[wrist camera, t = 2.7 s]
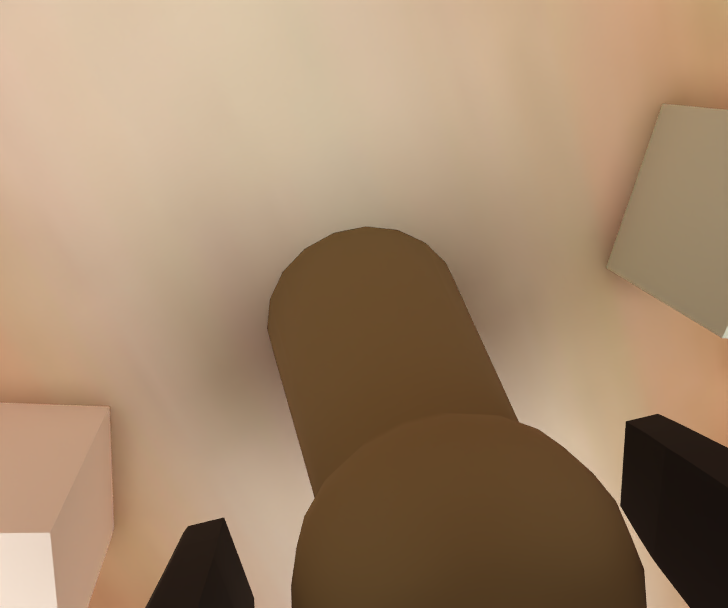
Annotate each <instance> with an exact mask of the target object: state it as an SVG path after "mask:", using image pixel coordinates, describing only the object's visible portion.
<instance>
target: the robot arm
mask: <svg viewBox="0 0 728 608" xmlns="http://www.w3.org/2000/svg"><path fill="white" fill-rule="evenodd" d="M620 506H621V508H622V509H623V511H624V513H625V514H626V516H627V518H628V519H629V521H630V523H631V525H632V526H633V528H634V530H635V531H636V533H637V535H638V536H639V538H640V539H641V541H642V543H643V544H644V546H645V547H646V549H647V551H648V552H649V554H650V555H651V557H652V558H653V560H654V561H655V563H656V564H657V565H658V567H659V568H660V569H661V571H662V572H663V573H664V575H665V576H666V577H667V578H668V580H669V581H670V582H671V584H672V585H673V586H674V588H675V589H676V590H677V591H678V593H679V594H680V595H681V597H682V598H683V599H684V600H685V602H686V603H687V604H688V606H689V607H690V608H728V448H727V447H725V446H723V445H721V444H719V443H717V442H715V441H713V440H711V439H709V438H707V437H705V436H703V435H701V434H699V433H697V432H695V431H693V430H691V429H689V428H687V427H685V426H683V425H681V424H679V423H677V422H675V421H672V420H670V419H668V418H666V417H664V416H662V415H659V414H655V415H651V416H647V417H643V418H639V419H634V420H630V421H626V428H625V443H624V458H623V473H622V488H621V503H620ZM145 608H254V596H253V594H252V591H251V588H250V586H249V583H248V580H247V578H246V575H245V572H244V570H243V567H242V564H241V562H240V559H239V556H238V554H237V551H236V548H235V545H234V543H233V540H232V537H231V535H230V532H229V529H228V527H227V524H226V521H225V519H224V518H221V519H216V520H212V521H208V522H204V523H200V524H195V525H191V526H188V527H187V528H186V530H185V531H184V533H183V535H182V537H181V539H180V541H179V543H178V545H177V547H176V549H175V551H174V553H173V555H172V557H171V559H170V561H169V563H168V565H167V567H166V569H165V571H164V573H163V575H162V577H161V579H160V580H159V582H158V584H157V586H156V588H155V590H154V592H153V594H152V596H151V598H150V600H149V602H148V604H147V606H146V607H145Z"/></svg>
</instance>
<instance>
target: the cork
mask: <svg viewBox="0 0 728 608" xmlns="http://www.w3.org/2000/svg"><path fill="white" fill-rule="evenodd" d="M267 329H268V333H269V337H270V341H271V344H272V348H273V352H274V356H275V359H276V363H277V366H278V370H279V373H280V377H281V380H282V384H283V387H284V391H285V394H286V398H287V402H288V405H289V409H290V412H291V416H292V419H293V423H294V426H295V430H296V433H297V437H298V440H299V444H300V447H301V451H302V454H303V458H304V462H305V465H306V469H307V472H308V476H309V479H310V483H311V486H312V490H313V493H314V497H315V499H314V501H313V502H312V504H311V506H310V508H309V509H308V511H307V513H306V515H305V516H304V520H303V524H302V528H301V532H300V536H299V540H298V544H297V548H296V556H295V563H294V570H293V577H292V584H291V597H292V608H647V605H646V590H645V576H644V568H643V565H642V563H641V560H640V558H639V555H638V553H637V550H636V548H635V545H634V543H633V540H632V538H631V535H630V533H629V531H628V528H627V526H626V524H625V521H624V519H623V517H622V514H621V512H620V510H619V507H618V505H617V503H616V501H615V500H614V498H613V497H612V496H611V495H610V494H609V492H608V491H607V490H606V489H605V487H604V486H603V485H602V484H601V483H600V481H599V480H598V479H597V478H596V476H595V475H594V474H593V473H592V472H591V471H590V470H589V469H588V468H586V467H585V466H584V465H583V464H582V463H581V462H580V461H579V460H577V459H576V458H575V457H574V456H573V455H572V454H571V453H570V452H568V451H567V450H566V449H565V448H564V447H563V446H561V445H560V444H558V443H557V442H556V441H554V440H553V439H551V438H550V437H548V436H547V435H546V434H544V433H543V432H541V431H540V430H538V429H536V428H533V427H530V426H527V425H525V424H522V423H519V421H518V419H517V417H516V415H515V413H514V410H513V408H512V406H511V404H510V402H509V399H508V397H507V395H506V393H505V391H504V389H503V386H502V384H501V382H500V380H499V378H498V375H497V373H496V371H495V369H494V367H493V364H492V362H491V360H490V358H489V356H488V354H487V351H486V349H485V347H484V345H483V343H482V340H481V338H480V336H479V334H478V332H477V329H476V327H475V325H474V323H473V321H472V319H471V316H470V314H469V312H468V310H467V308H466V305H465V303H464V301H463V299H462V297H461V294H460V292H459V290H458V288H457V286H456V284H455V282H454V279H453V277H452V275H451V273H450V271H449V269H448V267H447V265H446V263H445V262H444V261H443V260H442V259H441V258H440V257H439V256H438V255H437V254H436V253H435V252H434V251H433V250H432V249H431V248H430V247H429V246H428V245H427V244H426V243H424V242H422V241H420V240H418V239H416V238H413V237H411V236H409V235H407V234H405V233H403V232H400V231H398V230H391V229H382V228H373V227H362V228H357V229H352V230H347V231H342V232H337V233H333V234H331V235H330V236H328V237H326V238H324V239H322V240H321V241H319V242H317V243H315V244H313V245H311V246H310V247H308V248H306V249H304V251H303V252H302V253H301V254H300V255H299V256H298V257H297V258H296V259H295V260H294V261H293V262H292V263H291V264H290V265H289V266H288V267H287V268H286V269H285V270H284V272H283V273H282V275H281V277H280V279H279V281H278V284H277V286H276V288H275V290H274V292H273V294H272V297H271V299H270V305H269V315H268V326H267Z"/></svg>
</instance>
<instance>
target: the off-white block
mask: <svg viewBox="0 0 728 608" xmlns="http://www.w3.org/2000/svg"><path fill="white" fill-rule="evenodd" d="M113 531H114V511H113V483H112V455H111V426H110V406H87V405H58V404H30V403H2V402H0V608H88V605H89V602H90V599H91V596H92V593H93V590H94V587H95V584H96V581H97V578H98V575H99V572H100V569H101V567H102V564H103V561H104V558H105V555H106V552H107V549H108V546H109V543H110V540H111V537H112V534H113Z"/></svg>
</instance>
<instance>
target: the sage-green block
mask: <svg viewBox="0 0 728 608" xmlns="http://www.w3.org/2000/svg"><path fill="white" fill-rule="evenodd" d="M606 268H607V269H609V270H610V271H612V272H614V273H615V274H617V275H619V276H620V277H622V278H624V279H625V280H627V281H629V282H630V283H632V284H633V285H635V286H637V287H638V288H640V289H642V290H643V291H645V292H647V293H648V294H650V295H652V296H653V297H655V298H657V299H658V300H660V301H662V302H663V303H665V304H667V305H668V306H670V307H672V308H673V309H675V310H676V311H678V312H680V313H681V314H683V315H685V316H686V317H688V318H690V319H691V320H693V321H695V322H696V323H698V324H700V325H701V326H703V327H705V328H706V329H708V330H710V331H711V332H713V333H715V334H716V335H718V336H720V337H721V338H728V110H725V109H714V108H704V107H694V106H683V105H673V104H662V106H661V109H660V112H659V115H658V118H657V121H656V124H655V126H654V129H653V132H652V135H651V138H650V141H649V144H648V147H647V150H646V153H645V155H644V158H643V161H642V164H641V167H640V170H639V173H638V176H637V179H636V181H635V184H634V187H633V190H632V193H631V196H630V199H629V202H628V205H627V208H626V210H625V213H624V216H623V219H622V222H621V225H620V228H619V231H618V234H617V237H616V239H615V242H614V245H613V248H612V251H611V254H610V257H609V260H608V263H607V266H606Z"/></svg>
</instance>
